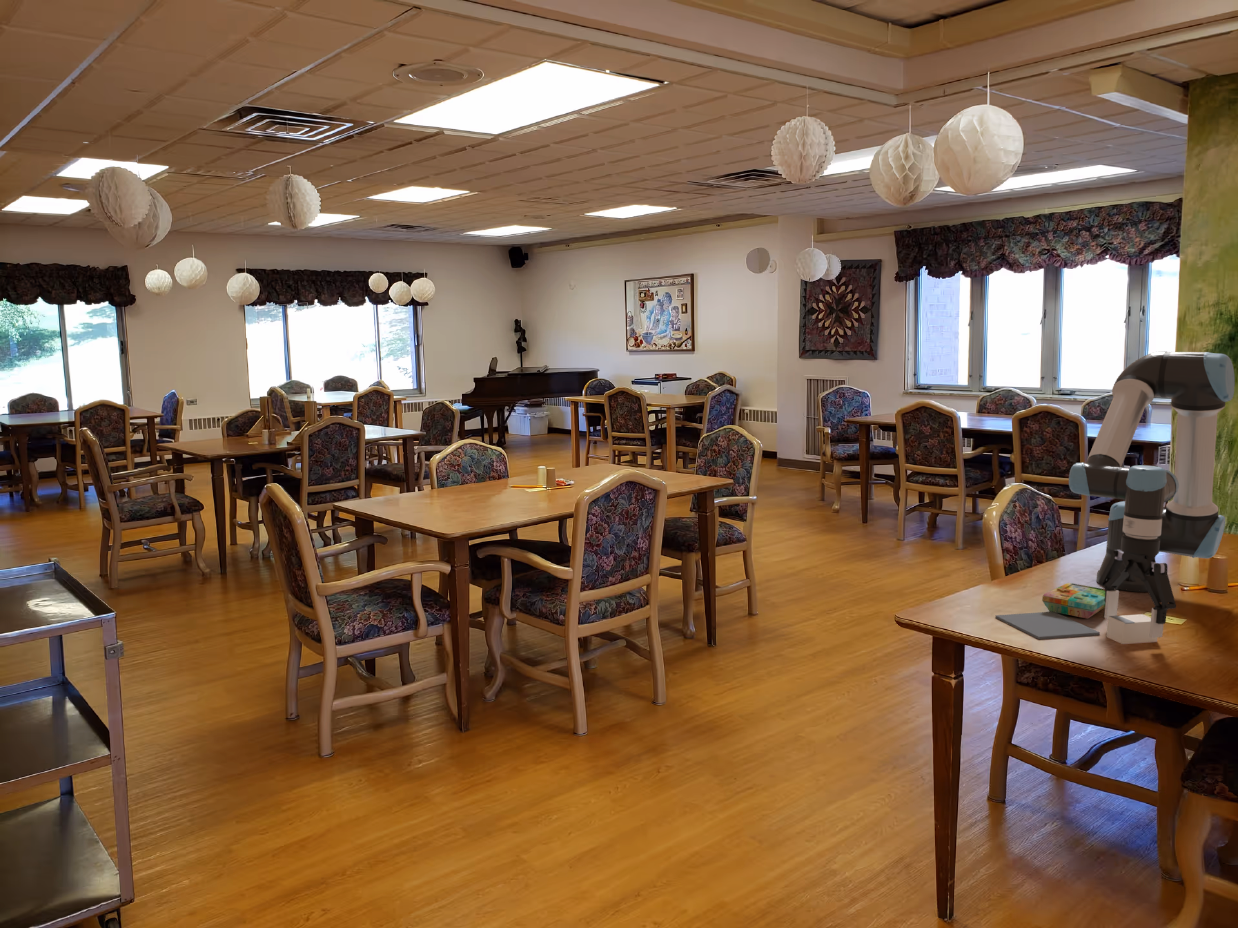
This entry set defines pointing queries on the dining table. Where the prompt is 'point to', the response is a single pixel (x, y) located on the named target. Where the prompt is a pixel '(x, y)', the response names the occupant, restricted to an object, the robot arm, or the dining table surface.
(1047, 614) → the mat
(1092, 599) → the puzzle game
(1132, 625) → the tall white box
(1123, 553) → the robot arm
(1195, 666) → the dining table surface
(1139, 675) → the dining table surface
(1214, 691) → the dining table surface
